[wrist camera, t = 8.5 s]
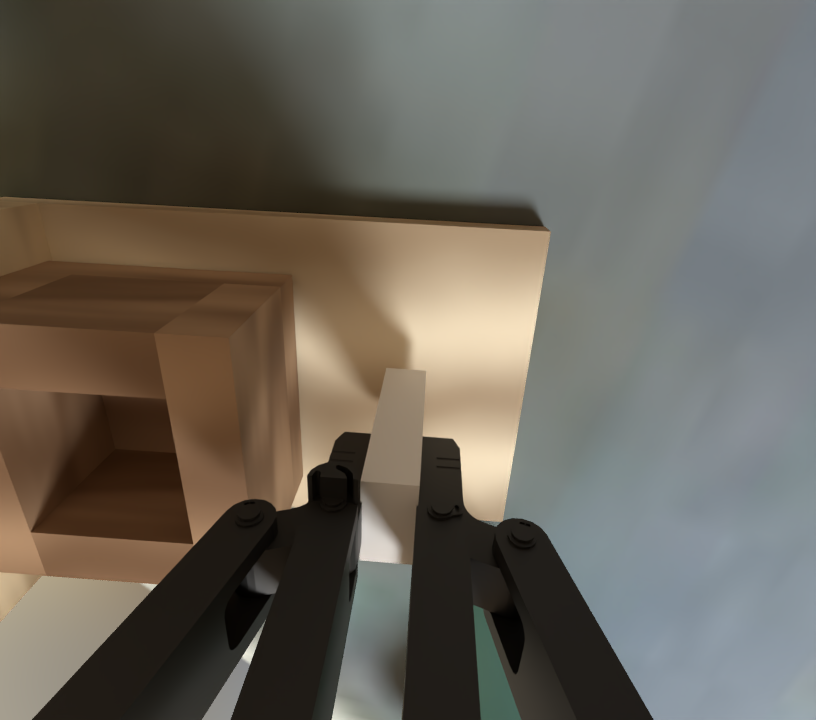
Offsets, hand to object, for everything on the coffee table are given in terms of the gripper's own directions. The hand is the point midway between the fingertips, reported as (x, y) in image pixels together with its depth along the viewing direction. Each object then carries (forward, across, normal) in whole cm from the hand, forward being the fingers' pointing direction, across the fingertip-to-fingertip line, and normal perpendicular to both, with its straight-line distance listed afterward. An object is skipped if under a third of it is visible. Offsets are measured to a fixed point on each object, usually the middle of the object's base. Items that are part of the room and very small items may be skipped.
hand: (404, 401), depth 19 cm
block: (+1, -9, 0) cm, 9 cm away
